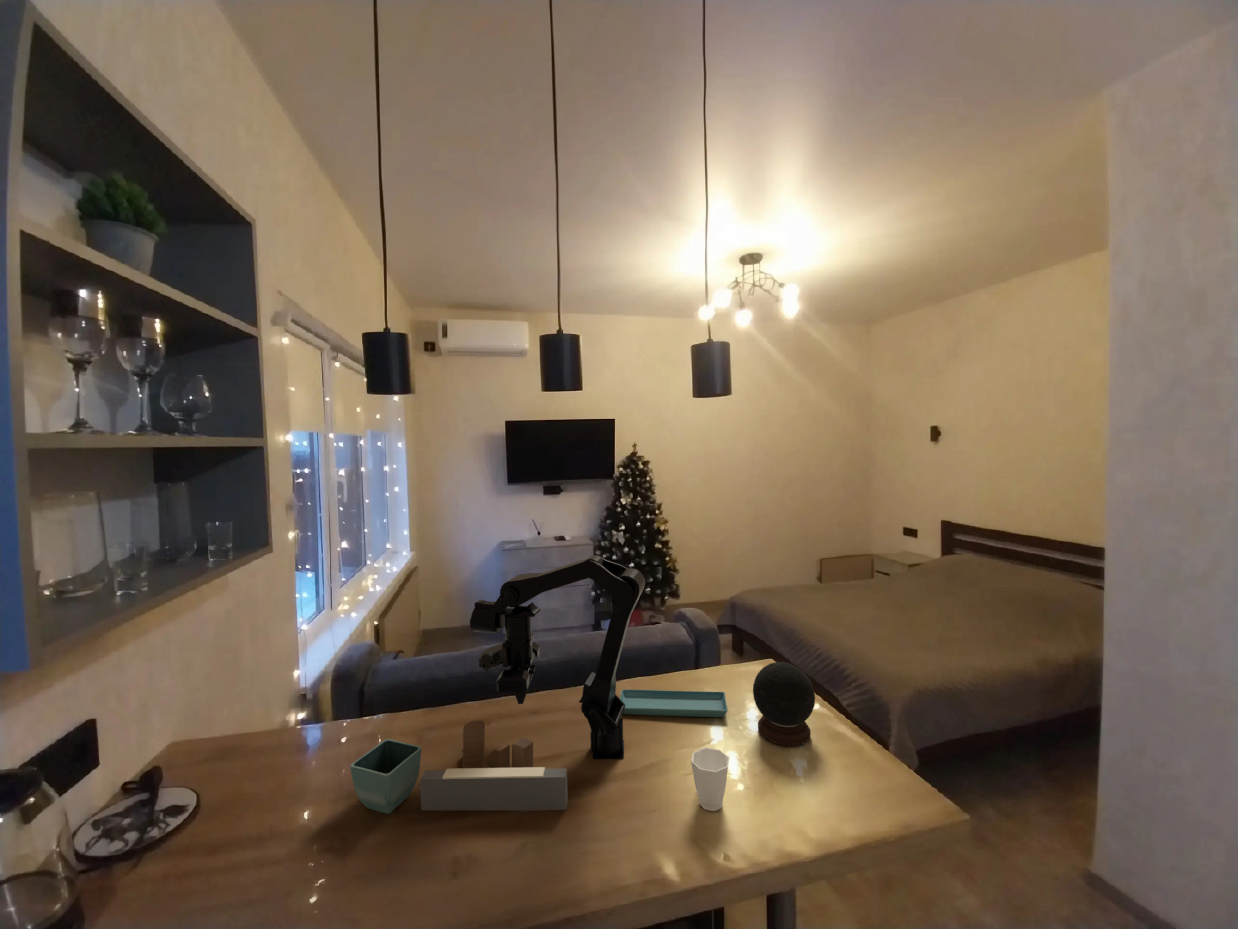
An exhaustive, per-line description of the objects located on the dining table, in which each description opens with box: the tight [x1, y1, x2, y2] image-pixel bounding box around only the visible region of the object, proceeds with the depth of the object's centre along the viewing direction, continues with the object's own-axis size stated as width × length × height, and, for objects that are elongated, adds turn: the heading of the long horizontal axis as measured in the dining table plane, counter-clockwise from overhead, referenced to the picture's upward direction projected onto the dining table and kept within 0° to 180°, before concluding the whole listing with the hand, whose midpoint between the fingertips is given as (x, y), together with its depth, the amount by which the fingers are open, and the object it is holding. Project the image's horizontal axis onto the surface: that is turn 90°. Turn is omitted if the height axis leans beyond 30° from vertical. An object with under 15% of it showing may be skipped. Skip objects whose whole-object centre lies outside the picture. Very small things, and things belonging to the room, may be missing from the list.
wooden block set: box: [461, 720, 534, 768], centre depth 99 cm, size 18×9×10 cm, turn 62°
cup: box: [690, 747, 730, 812], centre depth 91 cm, size 7×10×8 cm
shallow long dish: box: [619, 688, 729, 718], centre depth 123 cm, size 26×9×2 cm, turn 83°
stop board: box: [419, 766, 569, 811], centre depth 90 cm, size 26×2×6 cm, turn 89°
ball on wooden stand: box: [752, 661, 816, 747], centre depth 111 cm, size 13×13×15 cm
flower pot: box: [349, 738, 423, 815], centre depth 92 cm, size 9×9×9 cm
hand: (520, 703), depth 111 cm, fingers closed
